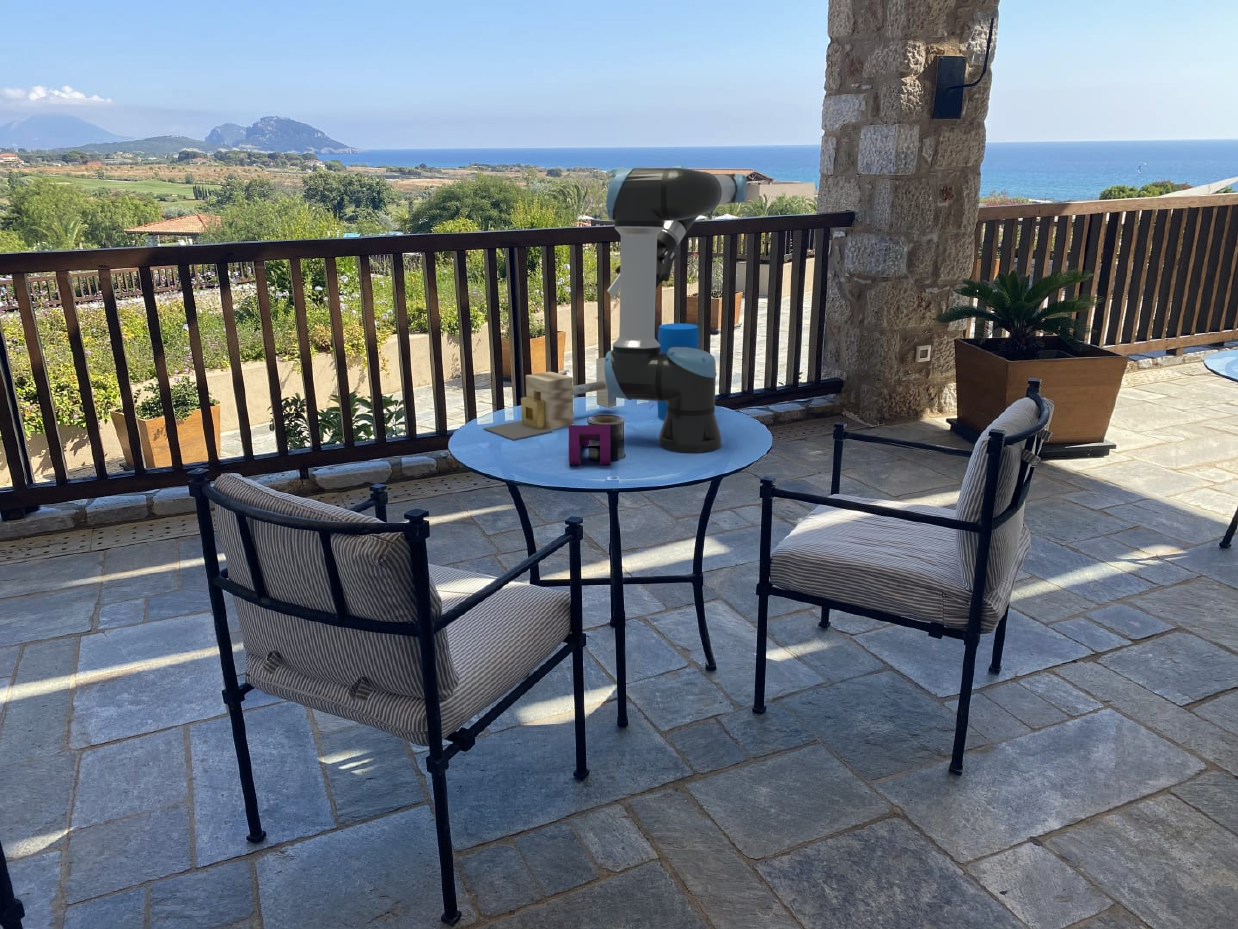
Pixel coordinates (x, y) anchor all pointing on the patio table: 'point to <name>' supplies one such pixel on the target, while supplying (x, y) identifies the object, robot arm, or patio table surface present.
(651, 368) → the robot arm
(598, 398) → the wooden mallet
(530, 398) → the brass spacer
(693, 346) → the tall blue cylinder
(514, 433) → the rubber mat
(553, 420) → the wooden block
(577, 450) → the mounting bracket
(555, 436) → the patio table surface
